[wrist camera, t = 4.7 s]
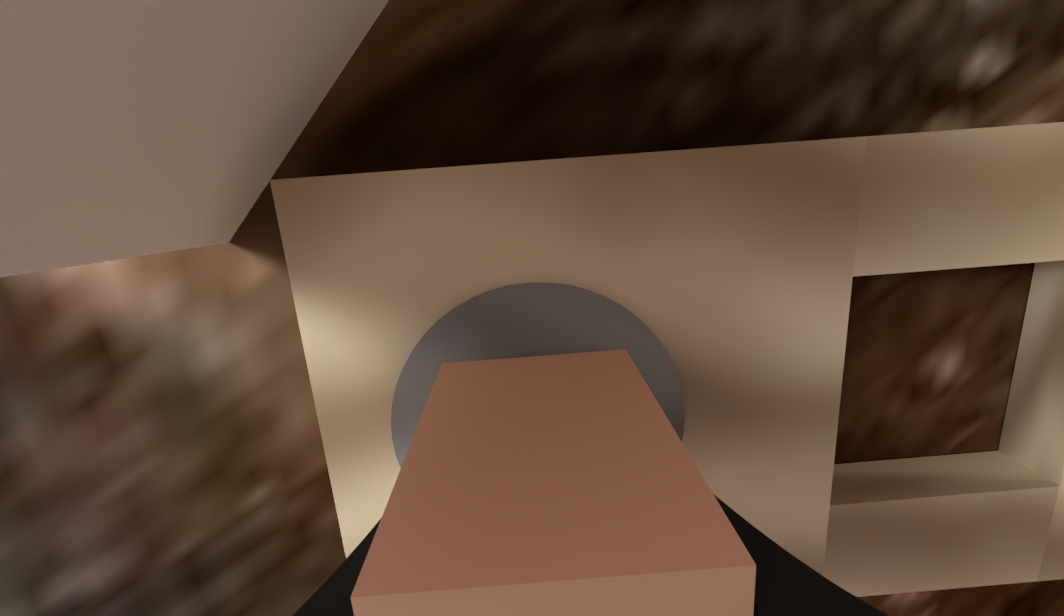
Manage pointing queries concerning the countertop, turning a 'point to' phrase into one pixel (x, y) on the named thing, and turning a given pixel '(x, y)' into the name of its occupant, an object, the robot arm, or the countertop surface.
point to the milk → (153, 117)
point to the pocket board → (705, 324)
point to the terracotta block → (551, 502)
